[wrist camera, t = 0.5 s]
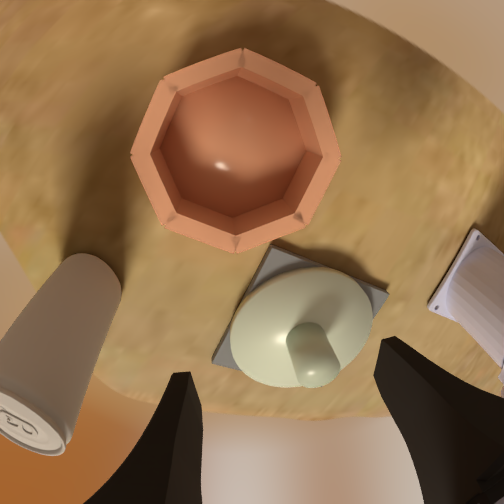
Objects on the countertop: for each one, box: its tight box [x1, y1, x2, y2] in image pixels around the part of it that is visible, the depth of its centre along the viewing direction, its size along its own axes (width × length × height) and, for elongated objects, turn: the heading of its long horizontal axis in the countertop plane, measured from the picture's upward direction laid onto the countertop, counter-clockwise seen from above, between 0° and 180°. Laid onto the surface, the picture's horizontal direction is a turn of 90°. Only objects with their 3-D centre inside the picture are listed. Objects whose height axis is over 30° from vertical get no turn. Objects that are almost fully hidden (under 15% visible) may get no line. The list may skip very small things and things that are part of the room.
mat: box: [212, 244, 390, 387], centre depth 22 cm, size 10×10×1 cm
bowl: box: [130, 48, 341, 254], centre depth 15 cm, size 9×9×4 cm
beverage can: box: [0, 253, 122, 456], centre depth 13 cm, size 5×5×12 cm
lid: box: [230, 267, 373, 388], centre depth 20 cm, size 10×10×4 cm
